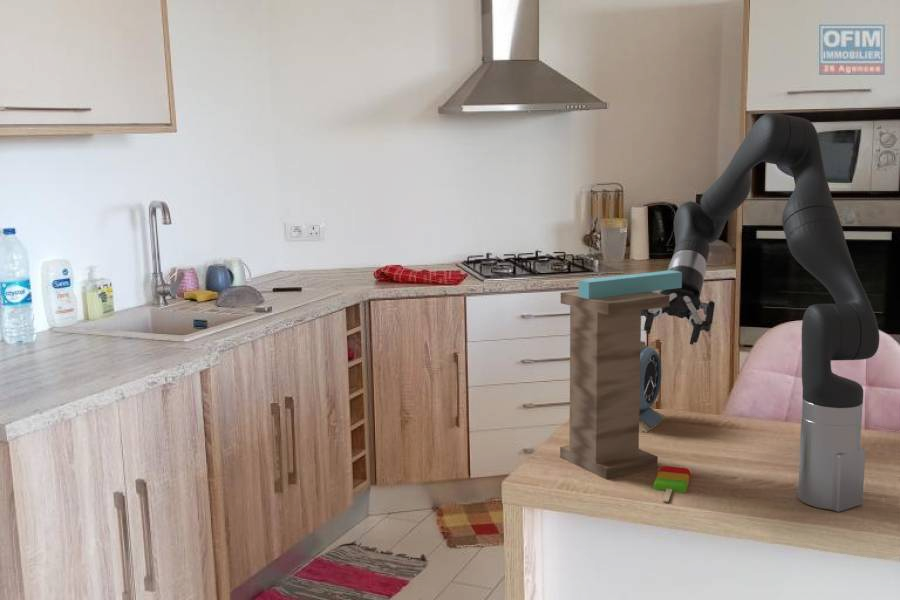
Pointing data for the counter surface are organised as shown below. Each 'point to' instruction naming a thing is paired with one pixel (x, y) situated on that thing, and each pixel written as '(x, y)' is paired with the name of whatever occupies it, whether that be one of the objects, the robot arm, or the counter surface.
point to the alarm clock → (649, 387)
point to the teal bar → (629, 284)
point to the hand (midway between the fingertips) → (670, 336)
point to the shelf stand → (607, 382)
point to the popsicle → (672, 480)
